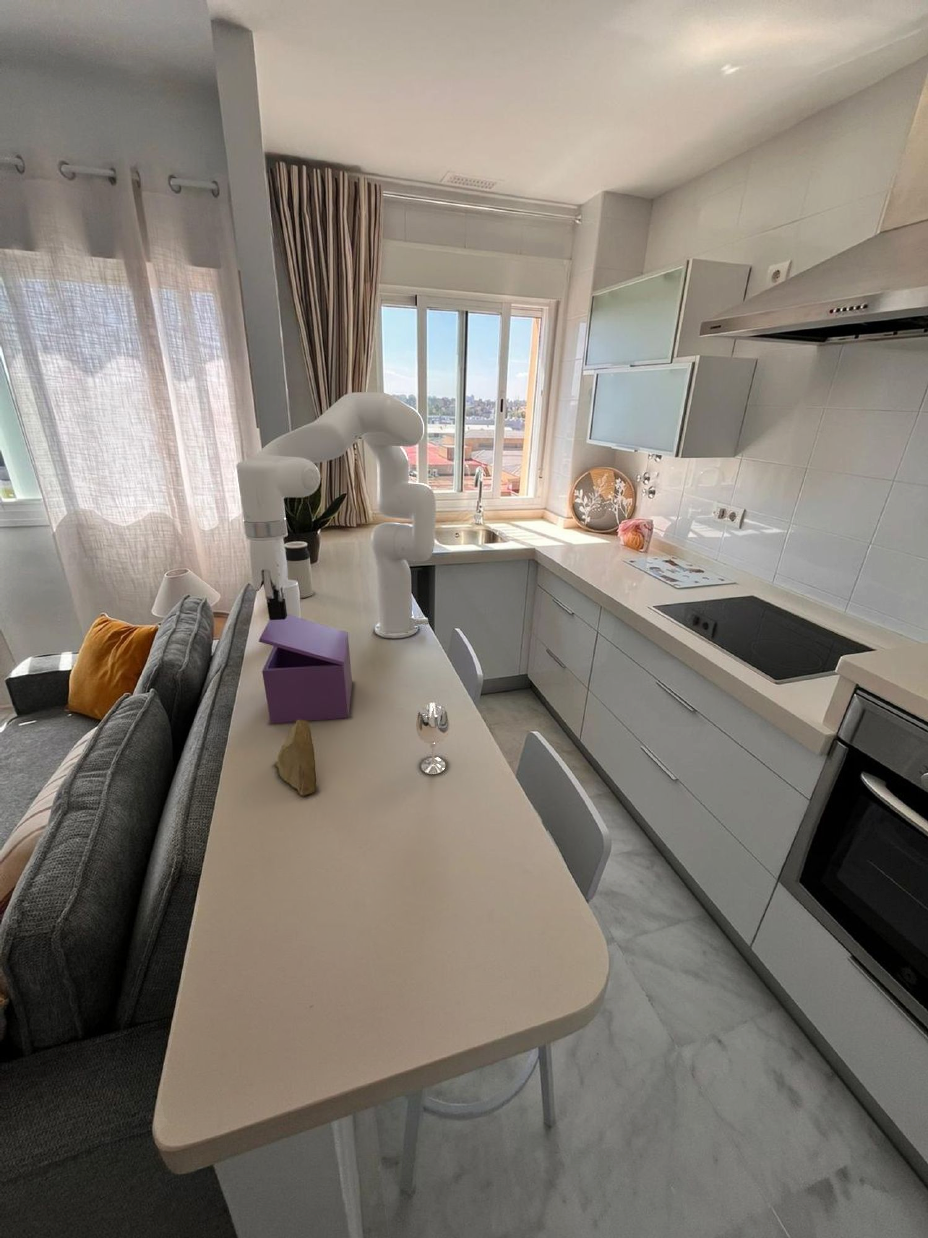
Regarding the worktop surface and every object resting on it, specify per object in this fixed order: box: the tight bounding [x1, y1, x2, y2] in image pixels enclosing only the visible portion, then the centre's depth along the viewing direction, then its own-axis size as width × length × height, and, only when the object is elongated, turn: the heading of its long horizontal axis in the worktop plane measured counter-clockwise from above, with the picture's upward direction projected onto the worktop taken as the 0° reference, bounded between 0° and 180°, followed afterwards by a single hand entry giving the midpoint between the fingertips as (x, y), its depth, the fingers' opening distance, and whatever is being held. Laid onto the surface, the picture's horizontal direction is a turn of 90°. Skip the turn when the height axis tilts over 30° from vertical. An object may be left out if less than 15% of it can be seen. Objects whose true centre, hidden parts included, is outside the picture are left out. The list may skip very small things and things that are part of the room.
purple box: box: [261, 637, 353, 725], centre depth 107 cm, size 16×15×12 cm
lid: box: [258, 614, 349, 665], centre depth 103 cm, size 16×15×1 cm
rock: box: [275, 719, 317, 797], centre depth 85 cm, size 11×9×10 cm
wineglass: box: [415, 702, 450, 775], centre depth 87 cm, size 6×6×12 cm
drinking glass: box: [283, 579, 301, 618], centre depth 140 cm, size 7×7×15 cm
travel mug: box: [284, 541, 314, 599], centre depth 169 cm, size 8×8×18 cm
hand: (278, 618), depth 100 cm, fingers closed
